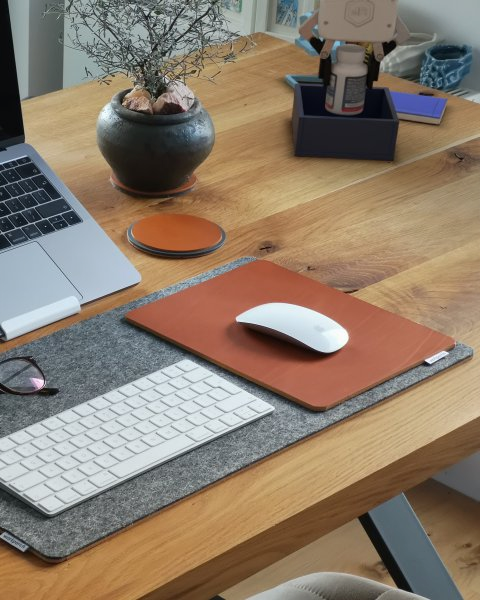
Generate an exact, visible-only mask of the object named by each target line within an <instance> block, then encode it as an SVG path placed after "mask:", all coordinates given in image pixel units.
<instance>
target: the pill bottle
mask: <svg viewBox="0 0 480 600" xmlns="http://www.w3.org/2000/svg"><path fill="white" fill-rule="evenodd" d="M366 53H367V49H366V48H365V46H362V45H358V44H353V43H352V44H351V43H345V44H343V45H339V46H338V47H337V48H336V54H335V56H336V59H337V60H336V61H334V62H333V63H332V64H331V72H330V79H329V86H327V95H326V104H325V107H326V109H327V110H328V111H329V112H331V113H334V114H338V115H345V116H350V115H356V114H359V113H361V112H362V110H363V106H364V99H365V91H366V87H367V86H366V84H367V76H368V67H367V65H368V64H366V63H365V62H364V61H365V60H366Z"/></svg>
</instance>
